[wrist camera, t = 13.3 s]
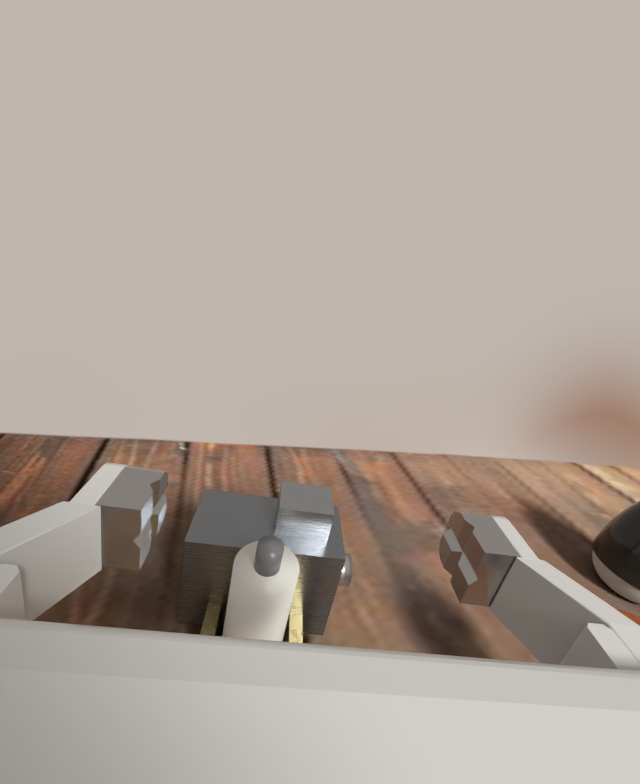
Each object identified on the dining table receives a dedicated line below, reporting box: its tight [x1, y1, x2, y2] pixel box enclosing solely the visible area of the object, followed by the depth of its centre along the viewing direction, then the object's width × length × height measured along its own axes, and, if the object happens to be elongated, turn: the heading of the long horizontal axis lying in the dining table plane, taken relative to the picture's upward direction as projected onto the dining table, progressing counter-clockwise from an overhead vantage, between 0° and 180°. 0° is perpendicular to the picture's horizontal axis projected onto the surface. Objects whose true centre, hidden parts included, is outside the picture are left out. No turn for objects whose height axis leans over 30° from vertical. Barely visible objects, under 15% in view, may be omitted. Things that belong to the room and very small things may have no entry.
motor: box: [177, 481, 352, 643], centre depth 33 cm, size 16×13×13 cm
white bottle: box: [222, 535, 299, 641], centre depth 29 cm, size 5×5×14 cm
